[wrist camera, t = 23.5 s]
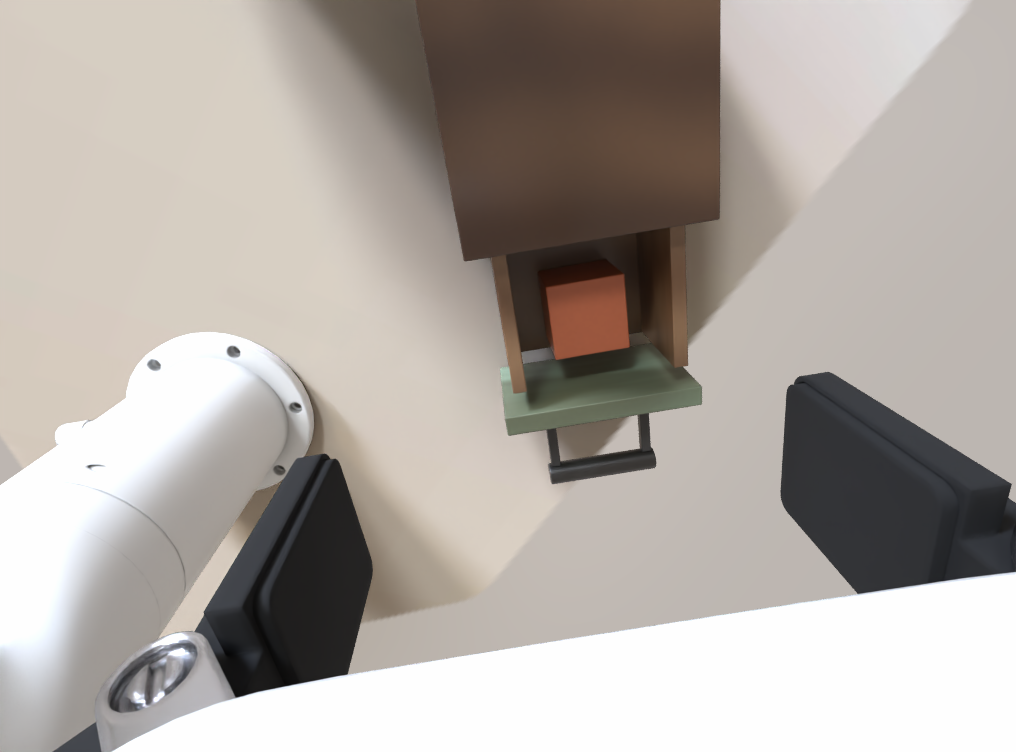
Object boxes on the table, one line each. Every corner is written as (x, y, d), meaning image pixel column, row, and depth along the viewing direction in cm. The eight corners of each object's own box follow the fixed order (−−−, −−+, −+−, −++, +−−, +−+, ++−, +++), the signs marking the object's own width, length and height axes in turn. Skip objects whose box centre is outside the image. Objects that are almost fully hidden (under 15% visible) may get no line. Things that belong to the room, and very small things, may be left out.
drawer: (662, 426, 40) (703, 486, 33) (514, 450, 40) (522, 515, 33) (650, 154, 32) (700, 155, 25) (468, 185, 32) (465, 194, 25)
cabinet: (657, 202, 34) (719, 219, 25) (467, 234, 34) (463, 262, 26) (646, -76, 29) (721, -178, 20) (418, -36, 29) (392, -120, 20)
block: (546, 336, 35) (555, 360, 31) (537, 271, 34) (545, 287, 29) (612, 325, 35) (630, 347, 31) (606, 258, 34) (624, 273, 29)
